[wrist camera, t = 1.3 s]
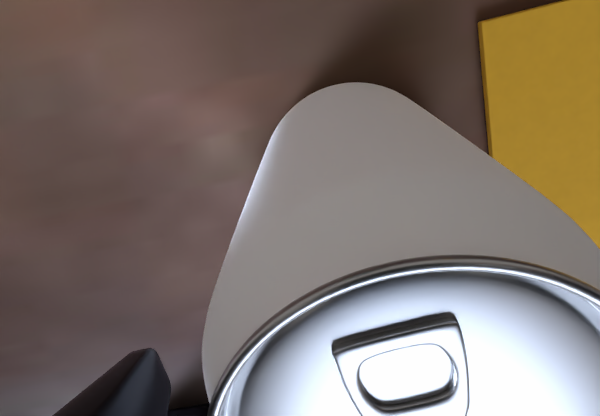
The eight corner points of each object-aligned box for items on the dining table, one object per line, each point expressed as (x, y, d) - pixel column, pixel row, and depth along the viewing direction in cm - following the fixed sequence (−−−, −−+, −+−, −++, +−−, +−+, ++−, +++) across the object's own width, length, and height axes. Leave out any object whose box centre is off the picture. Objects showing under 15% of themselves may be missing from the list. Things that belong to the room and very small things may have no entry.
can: (296, 264, 18) (272, 643, 7) (239, 113, 16) (65, 317, 5) (453, 220, 17) (718, 576, 6) (417, 53, 15) (735, 128, 4)
